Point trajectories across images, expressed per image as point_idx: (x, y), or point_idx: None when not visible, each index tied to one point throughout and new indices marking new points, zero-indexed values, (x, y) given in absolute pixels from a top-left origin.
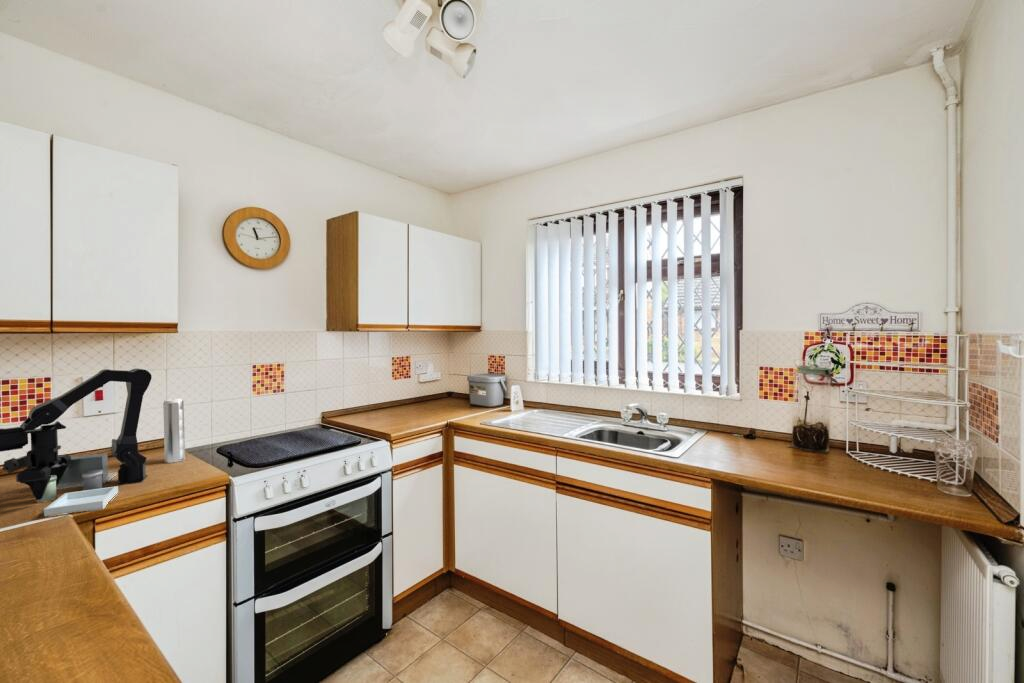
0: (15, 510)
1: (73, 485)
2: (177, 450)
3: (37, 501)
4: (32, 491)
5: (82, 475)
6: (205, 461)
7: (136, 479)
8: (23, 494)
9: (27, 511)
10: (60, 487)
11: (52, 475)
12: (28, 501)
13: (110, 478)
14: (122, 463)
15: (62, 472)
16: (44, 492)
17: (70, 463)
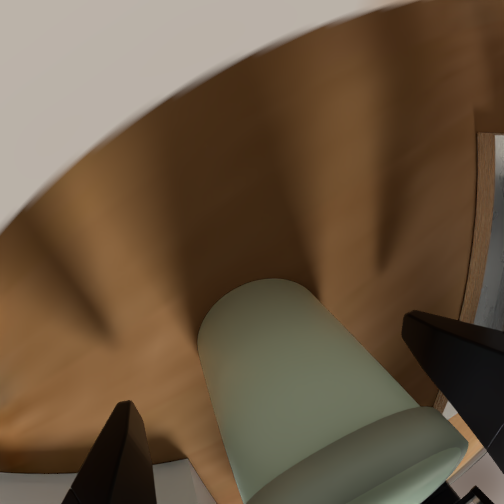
0: (24, 268)
1: (468, 318)
2: None
3: (207, 322)
4: (77, 479)
5: None
6: (450, 477)
7: None
8: (459, 68)
9: (10, 373)
10: (478, 259)
11: (436, 486)
12: (274, 204)
13: (454, 413)
14: (457, 500)
15: (488, 450)
16: (152, 482)
17: None
